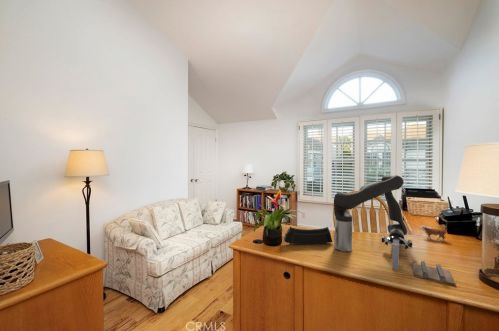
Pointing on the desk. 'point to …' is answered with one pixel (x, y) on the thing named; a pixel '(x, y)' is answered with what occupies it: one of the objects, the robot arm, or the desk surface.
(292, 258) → the desk surface
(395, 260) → the door panel
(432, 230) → the bull figurine
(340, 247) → the robot arm
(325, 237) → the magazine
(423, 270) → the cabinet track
